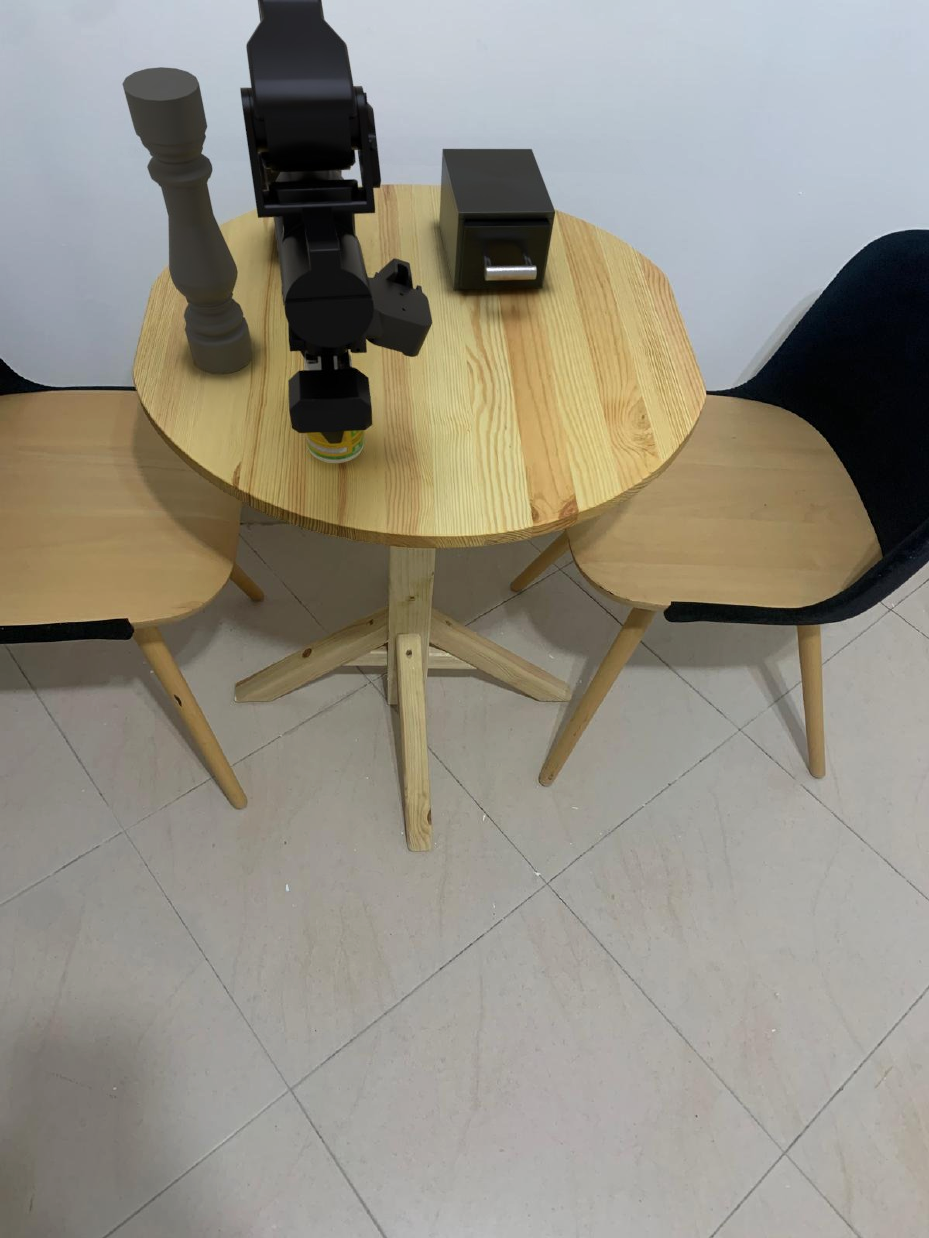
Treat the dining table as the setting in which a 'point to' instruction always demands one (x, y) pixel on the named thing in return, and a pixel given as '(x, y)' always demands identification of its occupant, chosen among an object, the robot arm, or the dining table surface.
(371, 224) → the dining table surface
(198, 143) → the candle holder
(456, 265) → the cabinet
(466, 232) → the drawer
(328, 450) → the supplement bottle
